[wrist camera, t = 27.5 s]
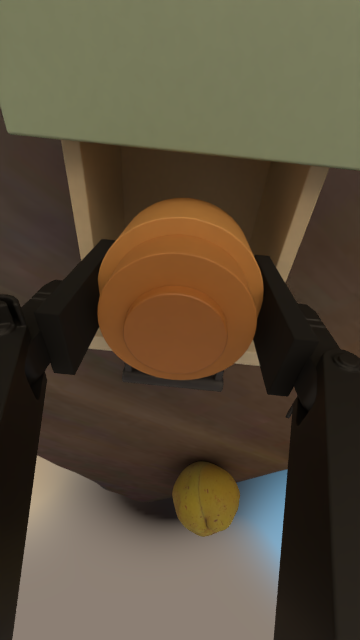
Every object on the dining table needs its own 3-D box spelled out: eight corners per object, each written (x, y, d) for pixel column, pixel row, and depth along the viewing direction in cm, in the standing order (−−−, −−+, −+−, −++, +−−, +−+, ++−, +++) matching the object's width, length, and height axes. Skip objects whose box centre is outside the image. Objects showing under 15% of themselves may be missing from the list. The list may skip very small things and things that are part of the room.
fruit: (161, 463, 46) (153, 532, 38) (204, 442, 41) (206, 517, 33) (204, 482, 50) (205, 547, 42) (249, 464, 44) (260, 537, 36)
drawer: (233, 353, 27) (244, 420, 21) (118, 341, 27) (94, 404, 21) (318, 68, 14) (422, 10, 7) (92, 45, 14) (0, -34, 7)
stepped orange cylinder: (103, 294, 15) (59, 366, 10) (143, 166, 11) (101, 190, 6) (209, 336, 16) (213, 417, 12) (279, 239, 12) (328, 302, 8)
